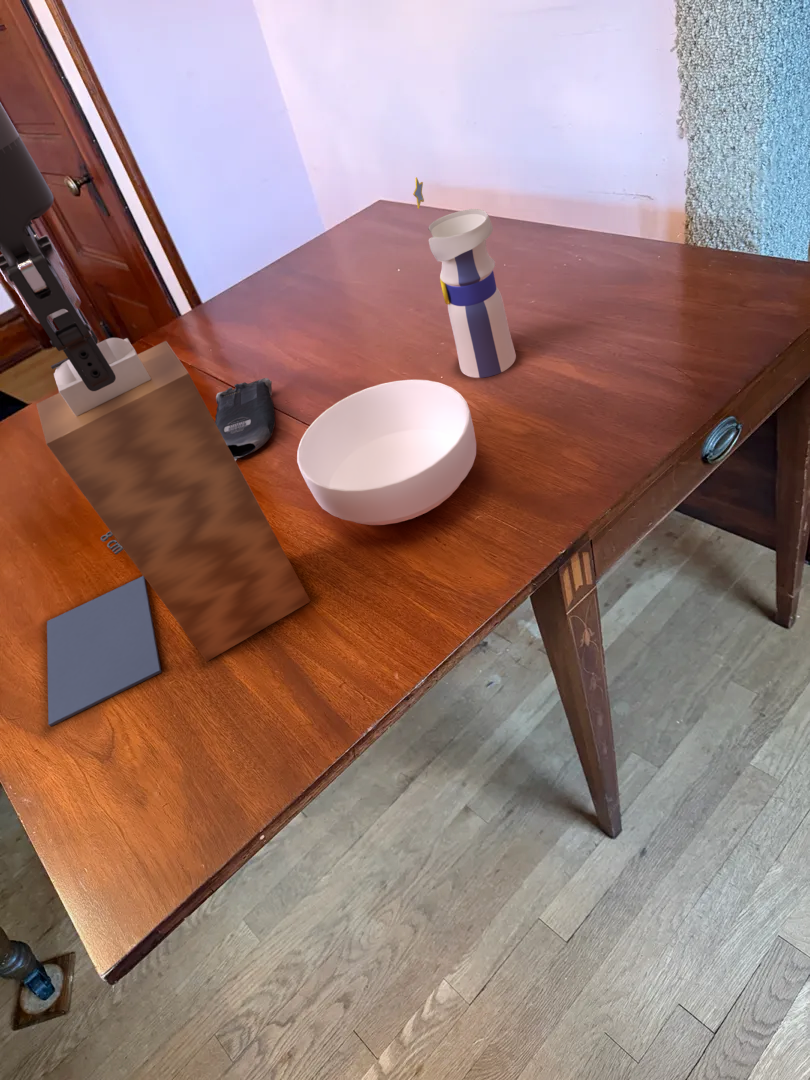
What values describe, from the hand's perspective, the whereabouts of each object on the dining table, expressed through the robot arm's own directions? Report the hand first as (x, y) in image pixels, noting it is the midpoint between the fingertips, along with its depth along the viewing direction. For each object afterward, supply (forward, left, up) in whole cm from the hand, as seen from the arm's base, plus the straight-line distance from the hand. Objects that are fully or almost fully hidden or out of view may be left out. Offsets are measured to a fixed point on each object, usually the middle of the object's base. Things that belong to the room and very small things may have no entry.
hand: (95, 365), depth 59 cm
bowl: (+20, -10, -30) cm, 38 cm away
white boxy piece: (0, 0, -2) cm, 2 cm away
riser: (0, 0, -30) cm, 30 cm away
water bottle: (+46, -12, -30) cm, 56 cm away
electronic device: (+30, +19, -30) cm, 47 cm away
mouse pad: (-8, +15, -30) cm, 35 cm away
